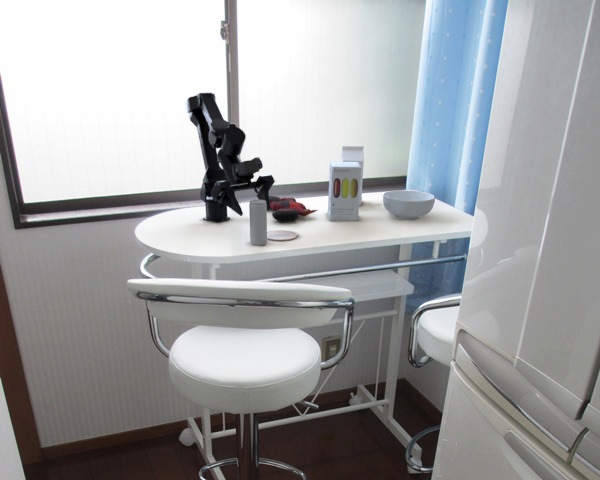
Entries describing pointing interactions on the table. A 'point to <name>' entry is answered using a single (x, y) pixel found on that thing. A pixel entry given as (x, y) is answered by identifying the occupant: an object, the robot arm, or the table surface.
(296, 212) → the toy motorcycle
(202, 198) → the robot arm
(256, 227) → the beverage can
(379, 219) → the table surface
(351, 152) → the milk carton
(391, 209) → the cereal bowl
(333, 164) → the supplement box
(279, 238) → the cork coaster
